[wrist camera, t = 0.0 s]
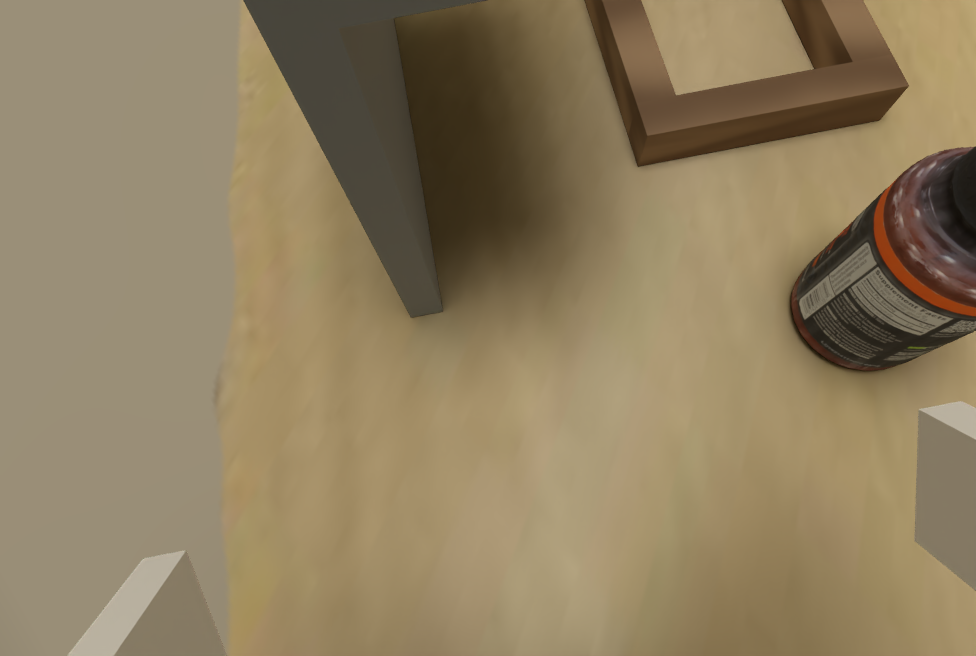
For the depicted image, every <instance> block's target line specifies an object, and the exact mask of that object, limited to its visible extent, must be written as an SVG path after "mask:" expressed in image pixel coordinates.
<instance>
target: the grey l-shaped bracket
mask: <svg viewBox="0 0 976 656" xmlns="http://www.w3.org/2000/svg"><path fill="white" fill-rule="evenodd" d="M243 1H244V2H245V4H246V6H247V8H248V10H249V12H250V14H251V16H252V18H253V20H254V21H255V23H256V25H257V27H258V29H259V31H260V33H261V35H262V37H263V38H264V40H265V42H266V44H267V46H268V48H269V50H270V52H271V54H272V55H273V57H274V59H275V61H276V63H277V65H278V67H279V69H280V71H281V73H282V74H283V76H284V78H285V80H286V82H287V84H288V86H289V88H290V90H291V91H292V93H293V95H294V97H295V99H296V101H297V103H298V105H299V107H300V108H301V110H302V112H303V114H304V116H305V118H306V120H307V122H308V124H309V125H310V127H311V129H312V131H313V133H314V135H315V137H316V139H317V141H318V143H319V144H320V146H321V148H322V150H323V152H324V154H325V156H326V158H327V160H328V161H329V163H330V165H331V167H332V169H333V171H334V173H335V175H336V177H337V178H338V180H339V182H340V184H341V186H342V188H343V190H344V192H345V194H346V196H347V197H348V199H349V201H350V203H351V205H352V207H353V209H354V211H355V213H356V214H357V216H358V218H359V220H360V222H361V224H362V226H363V228H364V230H365V231H366V233H367V235H368V237H369V239H370V241H371V243H372V245H373V247H374V249H375V250H376V252H377V254H378V256H379V258H380V260H381V262H382V264H383V266H384V267H385V269H386V271H387V273H388V275H389V277H390V279H391V281H392V283H393V284H394V286H395V288H396V290H397V292H398V294H399V296H400V298H401V300H402V302H403V303H404V305H405V307H406V309H407V311H408V313H409V315H410V317H416V316H421V315H426V314H432V313H437V312H442V311H443V309H442V303H441V297H440V291H439V285H438V279H437V273H436V267H435V261H434V255H433V249H432V243H431V237H430V231H429V225H428V219H427V213H426V207H425V201H424V195H423V189H422V183H421V177H420V171H419V165H418V159H417V153H416V147H415V141H414V135H413V129H412V123H411V117H410V111H409V105H408V100H407V94H406V88H405V82H404V76H403V70H402V64H401V58H400V52H399V46H398V40H397V34H396V28H395V22H394V18H397V17H402V16H407V15H412V14H418V13H423V12H428V11H434V10H439V9H444V8H449V7H455V6H460V5H465V4H470V3H476V2H481V1H486V0H243Z"/></svg>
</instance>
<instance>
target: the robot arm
mask: <svg viewBox="0 0 976 656" xmlns="http://www.w3.org/2000/svg"><path fill="white" fill-rule="evenodd" d="M915 541H916V542H917V543H918V544H919V545H920V546H922V547H923V548H924V549H925V550H927V551H928V552H929V553H930V554H931V555H933V556H934V557H935V558H936V559H937V560H939V561H940V562H941V563H942V564H944V565H945V566H946V567H947V568H948V569H950V570H951V571H952V572H953V573H955V574H956V575H957V576H958V577H959V578H961V579H962V580H963V581H964V582H965V583H967V584H968V585H969V586H970V587H972V588H973V589H974V590H975V591H976V408H975V407H973V406H970V405H968V404H966V403H964V402H962V401H959V402H954V403H949V404H944V405H938V406H933V407H928V408H923V409H919V414H918V446H917V478H916V510H915ZM68 656H227V654H226V652H225V649H224V646H223V644H222V641H221V639H220V636H219V633H218V631H217V629H216V626H215V623H214V621H213V618H212V615H211V613H210V610H209V608H208V605H207V602H206V600H205V598H204V595H203V592H202V590H201V587H200V584H199V582H198V579H197V577H196V574H195V571H194V569H193V566H192V564H191V561H190V559H189V556H188V553H187V551H186V550H185V551H180V552H174V553H170V554H164V555H159V556H154V557H148V558H143V559H142V561H141V562H140V563H139V565H138V566H137V567H136V568H135V570H134V571H133V572H132V574H131V575H130V576H129V577H128V579H127V580H126V581H125V582H124V584H123V585H122V586H121V588H120V589H119V590H118V591H117V593H116V594H115V595H114V597H113V598H112V599H111V600H110V602H109V603H108V604H107V605H106V607H105V608H104V609H103V611H102V612H101V613H100V614H99V616H98V617H97V618H96V620H95V621H94V622H93V623H92V625H91V626H90V627H89V629H88V630H87V631H86V632H85V634H84V635H83V636H82V637H81V639H80V640H79V641H78V643H77V644H76V645H75V646H74V648H73V649H72V650H71V651H70V653H69V654H68Z"/></svg>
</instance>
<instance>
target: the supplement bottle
mask: <svg viewBox="0 0 976 656" xmlns="http://www.w3.org/2000/svg"><path fill="white" fill-rule="evenodd" d="M791 306H792V312H793V316H794V320H795V323H796V325H797V327H798V330H799V331H800V333H801V335H802V336H803V338H804V339H805V340H806V341H807V342H808V343H809V344H810V345H811V347H812V348H813V349H814V350H816V351H817V352H818V353H820V354H821V355H822V356H824V357H825V358H827V359H828V360H830V361H832V362H834V363H836V364H838V365H841V366H844V367H847V368H851V369H858V370H867V371H871V370H882V369H886V368H890V367H893V366H896V365H899V364H903V363H905V362H908V361H910V360H912V359H914V358H917V357H919V356H921V355H923V354H925V353H928V352H930V351H932V350H934V349H936V348H938V347H941V346H943V345H945V344H947V343H950V342H952V341H954V340H957V339H959V338H961V337H963V336H965V335H967V334H970V333H972V332H974V331H976V147H968V148H963V147H962V148H955V149H949V150H944V151H940V152H938V153H935V154H932V155H930V156H927V157H925V158H924V159H922V160H920V161H918V162H917V163H915V164H914V165H912V166H911V167H910V168H909V169H907V170H906V171H904V172H903V173H902V174H901V175H900V176H899V177H898V178H897V179H896V180H895V181H894V182H893V183H892V184H891V185H890V186H889V187H888V188H887V189H885V190H884V191H883V192H882V193H881V194H880V195H879V196H878V197H877V198H876V199H875V200H874V201H873V202H872V203H871V204H870V205H869V206H868V207H867V208H866V209H865V210H864V211H863V212H862V213H861V214H860V215H859V216H857V217H856V219H855V220H854V221H853V222H852V223H851V224H850V225H849V226H848V227H847V228H845V229H844V230H843V231H842V232H841V233H840V234H839V235H838V236H837V237H836V238H835V239H834V240H833V241H832V242H830V244H829V245H828V246H827V247H826V248H825V249H824V250H823V251H821V252H820V253H819V254H818V255H817V256H816V257H814V259H813V260H812V261H811V262H810V263H809V264H808V265H807V267H806V268H805V269H804V270H803V272H802V273H801V274H800V276H799V277H798V279H797V281H796V283H795V286H794V289H793V292H792V295H791Z"/></svg>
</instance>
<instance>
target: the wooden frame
mask: <svg viewBox="0 0 976 656" xmlns="http://www.w3.org/2000/svg"><path fill="white" fill-rule="evenodd" d="M782 1H783V3H784V5H785V8H786V10H787V12H788V14H789V16H790V18H791V20H792V22H793V24H794V26H795V28H796V31H797V33H798V35H799V37H800V39H801V41H802V43H803V45H804V47H805V49H806V52H807V54H808V56H809V58H810V60H811V62H812V64H813V66H814V68H815V69H813V70H808V71H802V72H797V73H792V74H787V75H782V76H776V77H771V78H766V79H761V80H755V81H750V82H745V83H740V84H734V85H729V86H724V87H719V88H713V89H708V90H703V91H698V92H693V93H687V94H682V95H677V96H676V95H675V92H674V89H673V86H672V84H671V81H670V78H669V75H668V73H667V70H666V67H665V64H664V62H663V59H662V56H661V53H660V51H659V48H658V45H657V43H656V40H655V37H654V34H653V32H652V29H651V26H650V23H649V21H648V18H647V15H646V12H645V10H644V7H643V4H642V1H641V0H585V3H586V6H587V9H588V12H589V15H590V18H591V21H592V24H593V27H594V31H595V34H596V37H597V40H598V43H599V46H600V49H601V52H602V55H603V59H604V62H605V65H606V68H607V71H608V74H609V77H610V80H611V84H612V87H613V90H614V93H615V96H616V99H617V102H618V105H619V108H620V112H621V115H622V118H623V121H624V124H625V127H626V130H627V133H628V137H629V140H630V143H631V146H632V149H633V152H634V155H635V158H636V161H637V165H638V166H642V165H648V164H653V163H658V162H663V161H669V160H674V159H679V158H684V157H690V156H695V155H700V154H705V153H710V152H716V151H721V150H726V149H731V148H737V147H742V146H747V145H752V144H757V143H763V142H768V141H773V140H778V139H784V138H789V137H794V136H799V135H804V134H810V133H815V132H820V131H825V130H831V129H836V128H841V127H846V126H851V125H857V124H862V123H867V122H872V121H878V120H880V119H881V118H882V117H883V116H884V115H885V113H886V112H887V111H888V110H889V109H890V107H891V106H892V105H893V104H894V103H895V102H896V100H897V99H898V98H899V97H900V96H901V95H902V93H903V92H904V91H905V90H906V89H907V88H908V86H909V85H908V83H907V81H906V79H905V77H904V75H903V74H902V72H901V70H900V68H899V66H898V64H897V62H896V61H895V59H894V57H893V55H892V53H891V51H890V49H889V48H888V46H887V44H886V42H885V40H884V38H883V37H882V35H881V33H880V31H879V29H878V27H877V25H876V24H875V22H874V20H873V18H872V16H871V14H870V13H869V11H868V9H867V7H866V5H865V3H864V1H863V0H782Z"/></svg>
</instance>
